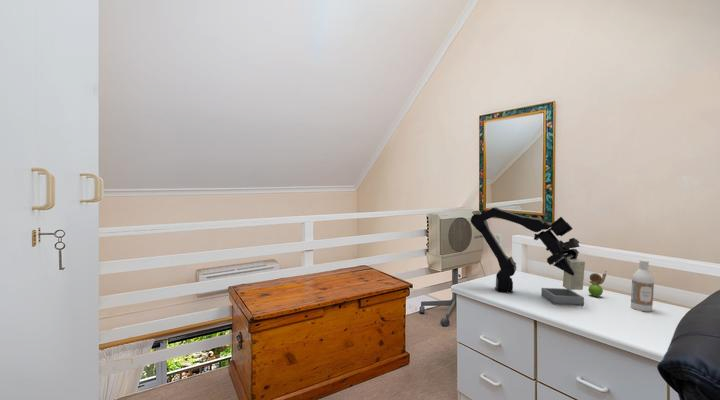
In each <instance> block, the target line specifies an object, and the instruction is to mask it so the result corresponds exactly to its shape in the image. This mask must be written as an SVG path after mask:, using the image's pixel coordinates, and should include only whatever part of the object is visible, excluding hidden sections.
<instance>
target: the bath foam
mask: <svg viewBox="0 0 720 400" xmlns="http://www.w3.org/2000/svg"><path fill="white" fill-rule="evenodd" d="M649 263H650V261H649V260H646V259H639V263H638V264H639V265H638V269H637V270H635V272H634V273H633V276H632V279H631V295H630V307H631V308H632V309H633V310H636V311H640V312H648V313H649V312H652V311H653V303H654V288H655V279H654V277H653V275H652V273H651V272H650V270H649Z"/></svg>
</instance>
